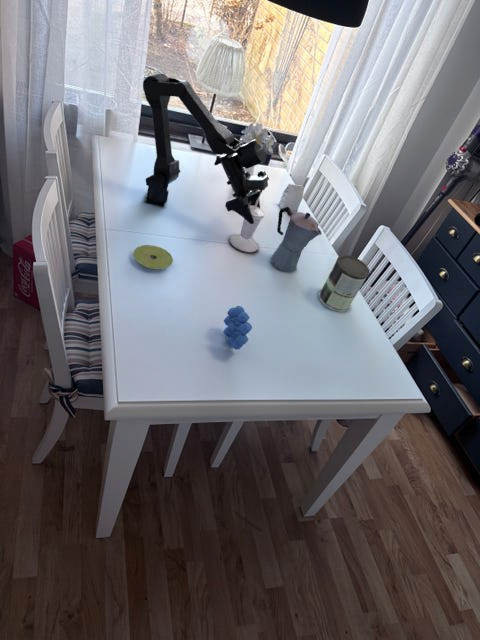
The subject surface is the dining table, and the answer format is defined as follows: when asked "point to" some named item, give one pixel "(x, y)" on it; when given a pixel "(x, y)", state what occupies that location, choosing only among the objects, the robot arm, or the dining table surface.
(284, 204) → the white carton
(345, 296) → the coffee can
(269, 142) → the flower vase
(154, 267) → the green grainy disc
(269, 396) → the dining table surface
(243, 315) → the grapes
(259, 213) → the smoothie
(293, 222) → the moka pot
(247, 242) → the disc
